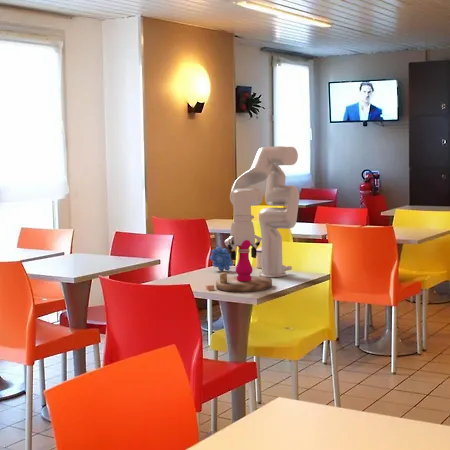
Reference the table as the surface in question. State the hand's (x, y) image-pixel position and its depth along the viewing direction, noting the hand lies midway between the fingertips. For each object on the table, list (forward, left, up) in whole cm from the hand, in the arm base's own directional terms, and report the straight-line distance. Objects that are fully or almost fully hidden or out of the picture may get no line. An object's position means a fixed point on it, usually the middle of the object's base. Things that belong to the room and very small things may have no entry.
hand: (243, 258), depth 341 cm
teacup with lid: (-35, -45, -13) cm, 58 cm away
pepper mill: (0, 0, -10) cm, 10 cm away
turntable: (0, 0, -12) cm, 12 cm away
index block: (+15, -2, -12) cm, 20 cm away
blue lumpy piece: (-11, -46, -13) cm, 49 cm away
